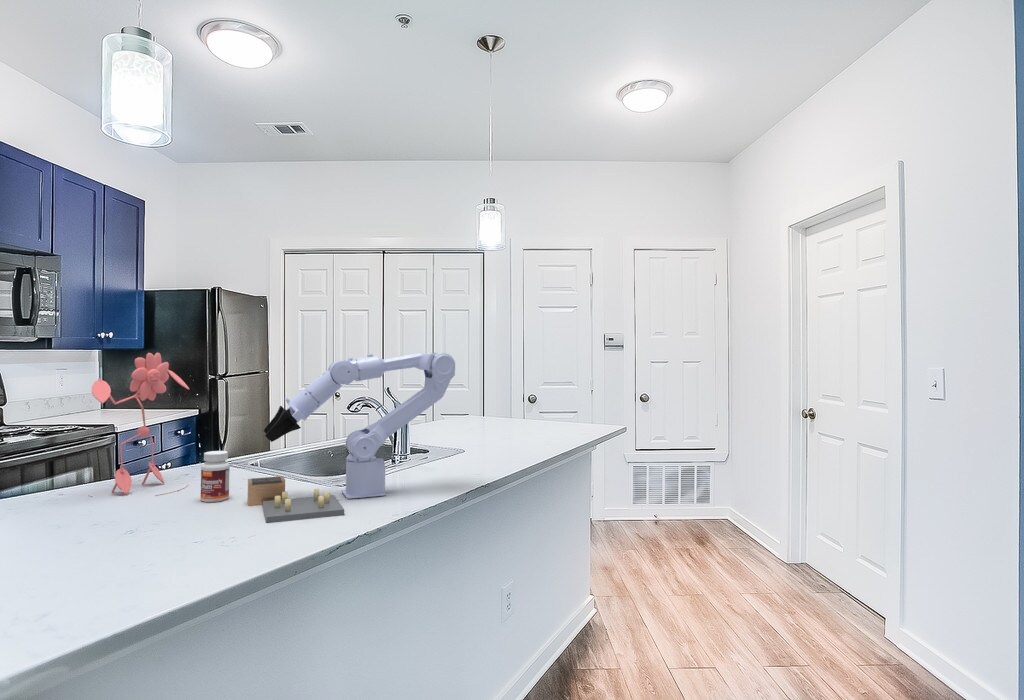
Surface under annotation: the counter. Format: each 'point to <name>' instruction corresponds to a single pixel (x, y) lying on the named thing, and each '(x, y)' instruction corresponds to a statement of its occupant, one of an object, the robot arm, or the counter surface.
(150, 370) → the figurine
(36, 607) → the counter surface
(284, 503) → the grey peg board
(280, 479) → the tan wooden block
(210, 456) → the pill bottle
